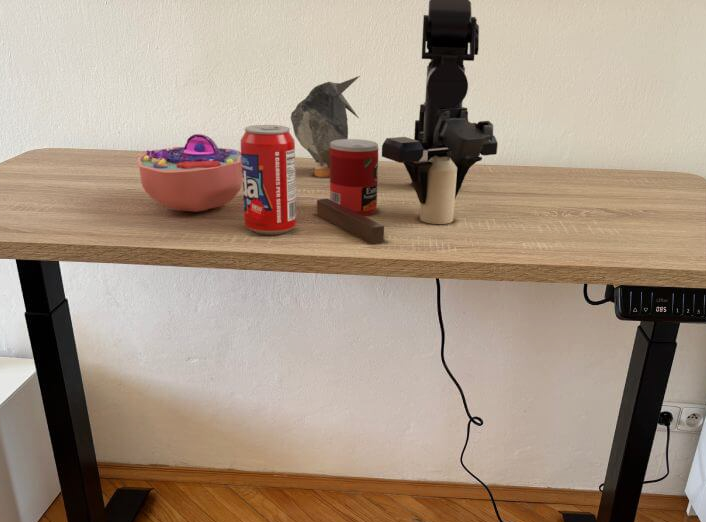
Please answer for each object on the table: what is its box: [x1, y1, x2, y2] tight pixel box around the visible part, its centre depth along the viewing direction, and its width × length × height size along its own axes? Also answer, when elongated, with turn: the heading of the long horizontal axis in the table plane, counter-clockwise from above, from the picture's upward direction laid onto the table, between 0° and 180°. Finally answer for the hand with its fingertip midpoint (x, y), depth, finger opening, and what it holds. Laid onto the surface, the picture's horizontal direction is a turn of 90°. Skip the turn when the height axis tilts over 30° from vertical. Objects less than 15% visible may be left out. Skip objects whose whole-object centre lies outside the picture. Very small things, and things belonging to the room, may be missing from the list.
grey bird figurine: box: [290, 75, 361, 178], centre depth 153 cm, size 14×15×18 cm
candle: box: [419, 156, 457, 225], centre depth 126 cm, size 6×6×10 cm
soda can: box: [240, 124, 297, 236], centre depth 117 cm, size 8×8×15 cm
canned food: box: [329, 138, 379, 216], centre depth 130 cm, size 8×8×11 cm
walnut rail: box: [316, 198, 385, 245], centre depth 122 cm, size 2×18×2 cm, turn 31°
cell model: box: [136, 133, 243, 213], centre depth 127 cm, size 17×20×11 cm
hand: (437, 201), depth 127 cm, fingers closed on candle, 5 cm apart
